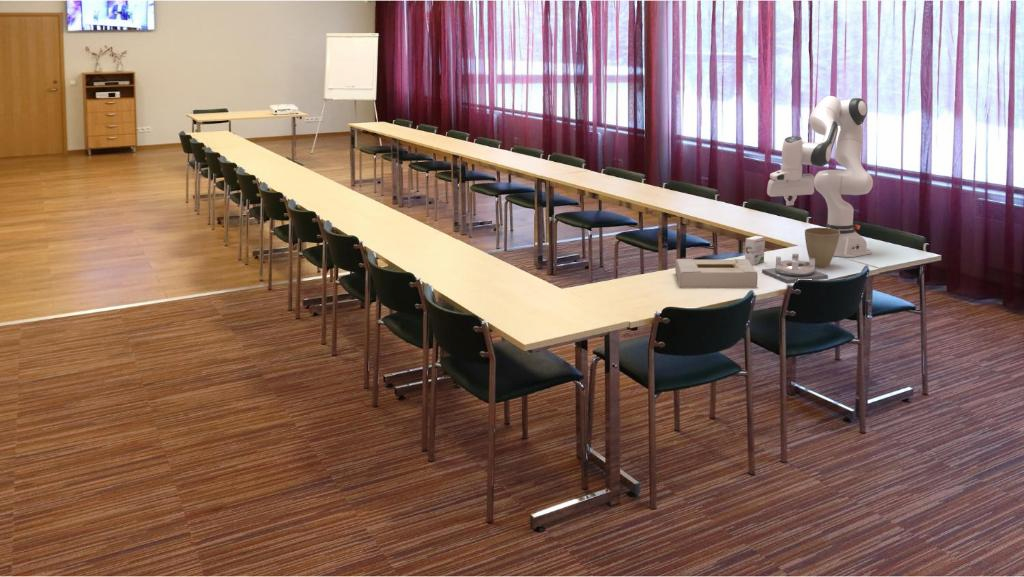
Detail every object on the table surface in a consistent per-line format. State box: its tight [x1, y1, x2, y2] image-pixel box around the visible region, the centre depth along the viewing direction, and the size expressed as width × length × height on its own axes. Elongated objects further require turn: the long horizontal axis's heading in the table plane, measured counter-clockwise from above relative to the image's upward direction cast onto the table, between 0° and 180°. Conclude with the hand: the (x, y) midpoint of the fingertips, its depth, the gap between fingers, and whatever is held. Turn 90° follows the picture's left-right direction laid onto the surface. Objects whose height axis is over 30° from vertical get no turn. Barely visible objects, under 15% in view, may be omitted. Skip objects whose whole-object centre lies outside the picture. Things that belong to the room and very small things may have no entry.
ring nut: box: [774, 253, 816, 276], centre depth 409 cm, size 16×16×6 cm
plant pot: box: [804, 227, 840, 269], centre depth 423 cm, size 15×15×16 cm
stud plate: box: [761, 267, 829, 284], centre depth 410 cm, size 20×19×2 cm
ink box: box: [744, 235, 766, 266], centre depth 432 cm, size 8×5×12 cm, turn 131°
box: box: [674, 258, 758, 288], centre depth 405 cm, size 23×8×32 cm
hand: (789, 205), depth 421 cm, fingers closed
